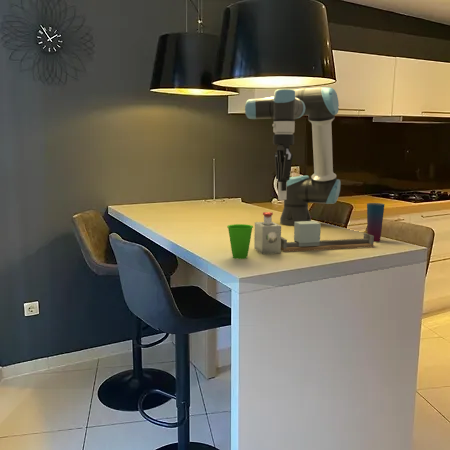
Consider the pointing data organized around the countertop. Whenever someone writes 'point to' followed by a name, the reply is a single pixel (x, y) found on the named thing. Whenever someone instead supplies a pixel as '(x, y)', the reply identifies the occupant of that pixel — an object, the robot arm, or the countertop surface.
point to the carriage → (307, 233)
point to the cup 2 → (375, 219)
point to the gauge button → (267, 218)
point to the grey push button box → (267, 238)
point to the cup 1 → (240, 239)
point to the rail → (306, 248)
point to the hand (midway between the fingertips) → (282, 199)
